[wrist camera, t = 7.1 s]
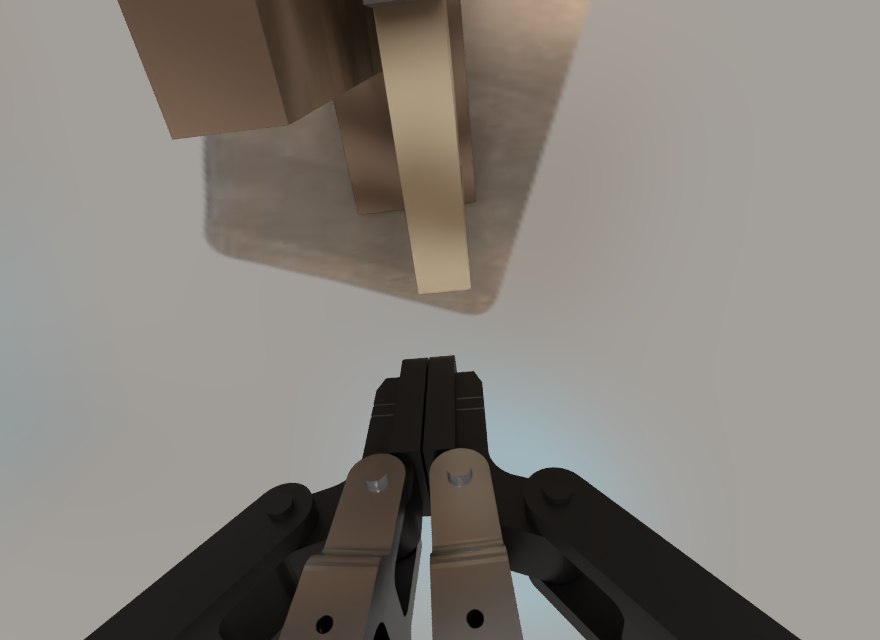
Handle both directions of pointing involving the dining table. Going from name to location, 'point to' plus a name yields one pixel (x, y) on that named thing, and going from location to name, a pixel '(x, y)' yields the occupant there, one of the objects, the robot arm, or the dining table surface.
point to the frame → (425, 137)
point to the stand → (286, 77)
